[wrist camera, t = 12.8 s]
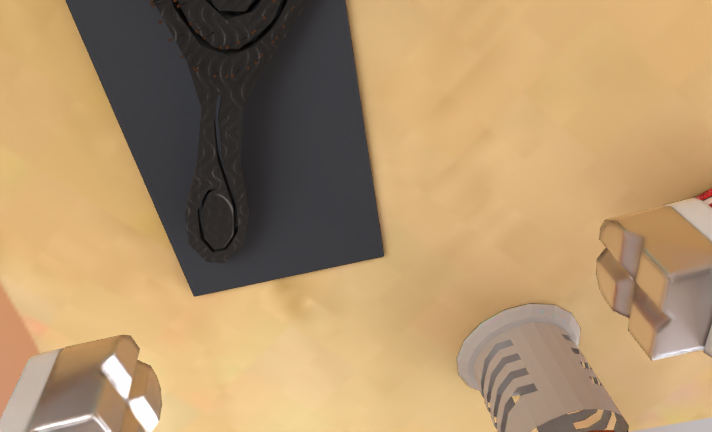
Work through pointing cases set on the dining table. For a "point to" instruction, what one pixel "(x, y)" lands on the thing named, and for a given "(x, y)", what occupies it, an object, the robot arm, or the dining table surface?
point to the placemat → (247, 140)
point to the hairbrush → (223, 104)
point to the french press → (535, 372)
